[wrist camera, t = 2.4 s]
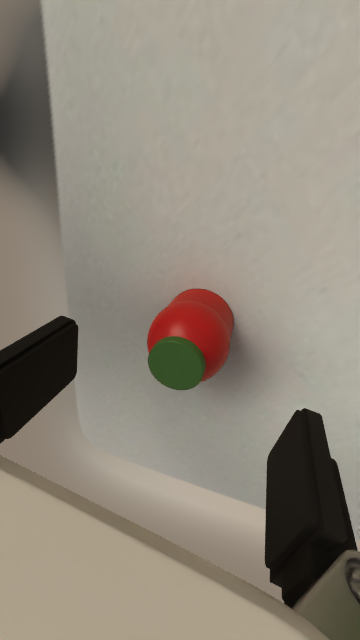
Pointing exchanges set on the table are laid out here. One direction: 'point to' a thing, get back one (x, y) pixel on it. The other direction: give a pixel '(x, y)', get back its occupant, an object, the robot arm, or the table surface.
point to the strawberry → (190, 339)
